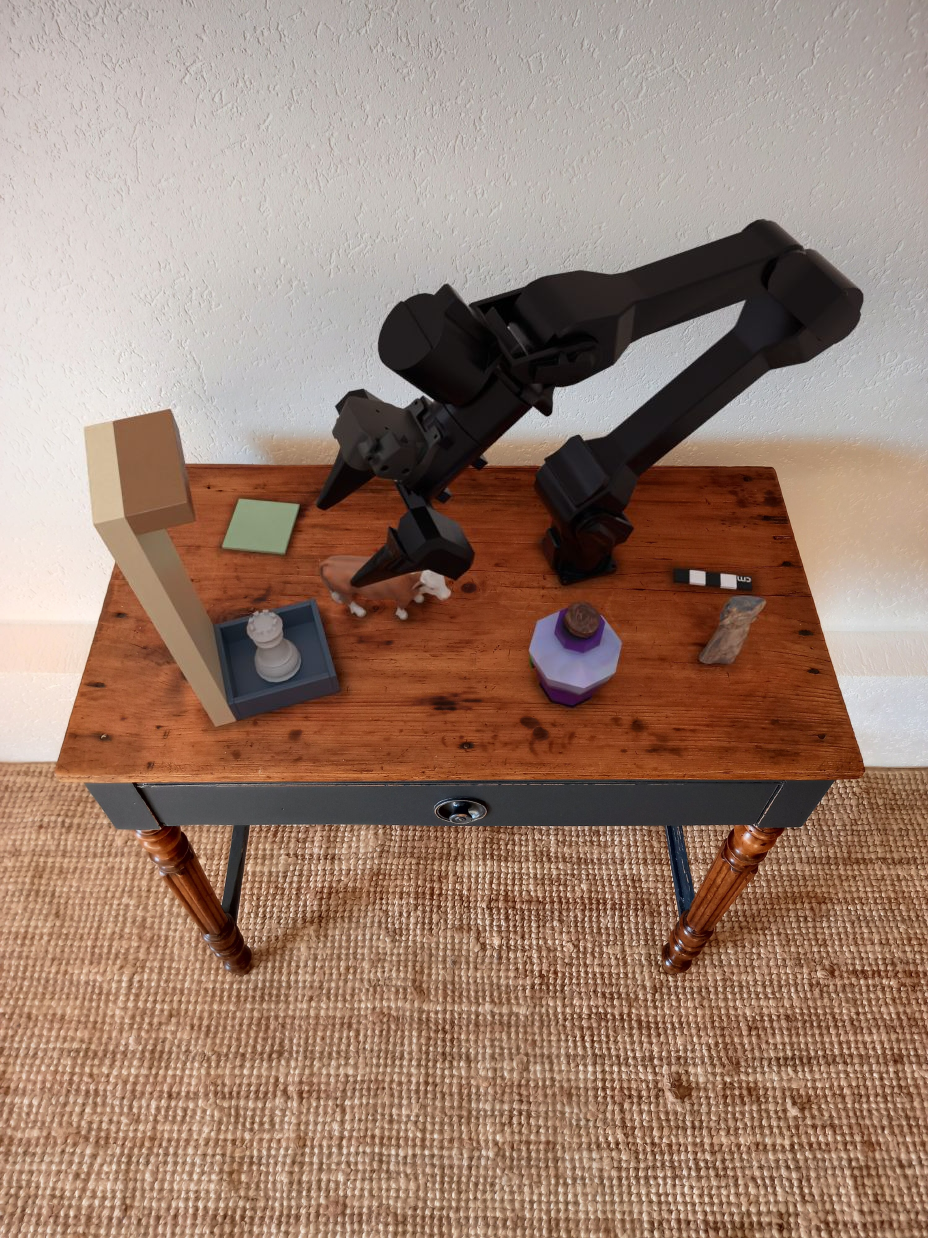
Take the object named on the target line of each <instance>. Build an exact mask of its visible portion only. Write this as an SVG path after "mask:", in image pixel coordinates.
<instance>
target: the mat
mask: <svg viewBox="0 0 928 1238" xmlns="http://www.w3.org/2000/svg"><path fill="white" fill-rule="evenodd" d="M300 505H301V504H300V503H290V502H289V503H288V502H279V501H270V500H269V501H268V500H259V499H247V498H238V501H237V504H236V507H235V508H234V512H233V515H232V518H231V520H230V523H229V526H228V527H227V528H228V529H227V531H226V534H225V537H224V539H223V543H222V545H221V548H222V549H223V550H232V551H241V552H243V551H244V552H251V553H260V554H261V553H262V554H273V555H282V556H285V555H286V553H287V550H288V547H289V543H290V539H291V538H292V537H291V536H292V533H293V530H294V527H295V523H296V520H297V517H298V515H299V510H300V507H301V506H300Z"/></svg>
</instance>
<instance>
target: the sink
mask: <svg viewBox="0 0 928 1238" xmlns="http://www.w3.org/2000/svg"><path fill="white" fill-rule="evenodd" d="M178 425H179V424H178V423H177V421H176V418H175V415H174V413H173V410H172V409H171V408H166V409H162V410H158V411H153V412H148V413H143V414H138V415H133V416H129V417H125V418H121V419H115V420H109V421H105V422H100V423H96V424H95V423H94V424H91V425H85V426H83V437H84V446H85V457H86V467H87V477H88V488H89V498H90V499H89V500H90V507H91V508H90V510H91V519H92V525H93V527H94V529H95V530H96V532H97V533H98V535H99V536H100V538H101V540H102V542H103V544H104V545H105V547H106V548H107V551H108V552H109V553H110V555H111V557H112V558H113V560H114V561H115V563H116V565H117V566H118V568H119V570H120V571H121V573H122V575H123V577H124V578H125V580H126V581H127V583H128V584H129V586H130V588H131V590H132V591H133V593H134V594H135V597H136V598H137V600H138V601H139V603H140V604H141V606H142V608H143V609H144V612H145V613H146V614H147V616H148V618H149V620H150V621H151V622H152V624H153V626H154V628H155V629H156V631H157V633H158V634H159V636H160V638H161V640H162V641H163V642H164V644H165V646H166V647H167V649H168V651H169V652H170V654H171V656H172V657H173V659H174V661H175V662H176V663H177V666H178V667H179V669H180V670H181V672H182V674H183V675H184V677H185V680H187V683H188V684H189V686H190V687H191V689H192V691H193V692H194V694H195V696H196V697H197V699H198V700H199V703H200V704H201V705H202V708H203V709H204V710H205V712H206V714H207V715H208V717H209V719H210V721H211V722H212V724H213V725H214V727H215V728H216V727H221V726H223V725H227V724H232V723H235V722H239V721H242V720H246V719H250V718H253V717H256V716H259V715H263V714H267V713H270V712H274V711H277V710H281V709H285V708H288V707H292V706H295V705H299V704H303V703H306V702H309V701H312V700H313V701H314V700H317V699H320V698H324V697H328V696H330V695H334V694H338V693H341V692H342V691H341V688H340V687H341V686H340V684H339V679H338V675H337V671H336V669H335V665H334V661H333V658H332V654H331V651H330V647H329V643H328V640H327V636H326V631H325V628H324V625H323V620H322V618H321V614H320V610H319V607H318V603H317V598H311V599H307V600H304V601H300V602H296V603H292V604H289V605H285V606H280V607H277V608H273V609H268V610H269V612H273V613H274V614H276V615H278V616H279V617H280V619H281V620H282V624H283V626H282V630H283V638H284V639H286V640H288V641H290V642H292V643H293V644H294V645H295V647H296V648H297V649H298V652H299V653H300V657H301V664H300V667H299V669H298V671H297V672H296V673H295V675H294V676H292V677H290V678H289V679H287V680H285V681H281V682H270V681H267V680H265V679H263V678H261V676H260V675H259V674H258V672H257V670H256V666H255V661H254V658H255V654H256V651H257V649H258V646H257V645H256V644H255V643H254V641H253V639H251V638H250V636H249V635H248V634H247V625H248V622H249V618H252V617H254V615H253V614H250V615H246V616H242V617H239V618H235V619H231V620H227V621H223V622H220V623H216V624H213V623H212V620H211V618H210V616H209V615H208V612H207V610H206V609H205V606H204V604H203V602H202V600H201V598H200V596H199V594H198V592H197V590H196V588H195V585H194V584H193V582H192V579H191V577H190V575H189V573H188V571H187V570H186V567H185V565H184V563H183V561H182V559H181V558H180V555H179V553H178V551H177V549H176V547H175V545H174V543H173V541H172V539H171V536H170V534H169V533H168V530H167V529H169V528H173V527H179V526H182V525H186V524H190V523H195V522H196V521H197V519H196V512H195V507H194V504H193V497H192V492H191V486H190V480H189V475H188V470H187V466H186V459H185V455H184V449H183V443H182V439H181V434H180V433H181V432H180V428H179V426H178ZM260 613H263V611H261V612H260Z"/></svg>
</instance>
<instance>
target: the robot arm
mask: <svg viewBox="0 0 928 1238" xmlns="http://www.w3.org/2000/svg"><path fill="white" fill-rule="evenodd" d="M864 299H865V297H864V293H863V291H862V290H861V288H859V286H858V285H856V284H855V283H854V282H853V281H852V280H851V279H850V278H848V277H847V276H846V275H845V274H844V273H842V272H841V271H840V270H839V269H838V268H837V267H836V266H835V265H834V264H832V263H831V262H830V261H829V260H828V259H827V258H826V257H824V256H823V255H822V254H821V253H820V252H818V251H817V249H813V248H804V246H803V245H802V244H801V243H800V242H799V241H798V240H796V238H794V237H793V236H792V235H791V234H790V233H788V231H787V230H785V229H784V228H783V227H782V226H781V225H780V224H779V223H777V222H776V221H775V220H770V219H765V218H760V219H756V220H754V221H751V222H749V224H747V225H746V226H745V227H744V228H743V229H742V230H741V231H738V232H737V233H734V234H730V235H728V236H725V237H722V238H719V239H716V240H713V241H710V242H707V243H705V244H701V245H699V246H696V247H693V248H690V249H687V250H683V251H682V252H678V253H675V254H672V255H671V256H670V255H669V256H667V257H664V258H661V259H658V260H655V261H653V262H652V261H651V262H650V263H647V264H644V265H641V266H638V267H635V268H632V269H629V270H626V271H623V272H622V271H621V272H616V273H605V272H598V271H591V270H584V269H577V270H572V271H565V272H560V273H559V272H558V273H553V274H547V275H544V276H540V277H538V278H536V279H534V280H532V281H530V282H528V284H526V285H524V286H522V287H518V288H515V289H512V290H507V291H505V292H502V293H499V294H495V295H492V296H489V297H485V298H482V299H478V300H476V301H472V302H470V303H468V304H467V303H466V302H465V300H464V299H463V298H462V296H461V295H460V293H459V291H457V290H456V289H455V288H454V287H453V286H452V285H451V284H449V283H443V285H442V286H441V287H440V288H439V289H438V290H437V291H436V292H435V293H434V294H433V293H429V292H422V293H417V294H414V295H412V296H409V297H408V298H406V299H405V300H404V301H403V300H400V301H399V302H397V303H396V304H395V305H394V306H393V308H392V309H391V310H390V311H389V313H388V314H387V315H386V317H385V319H384V321H383V322H382V325H381V328H380V330H379V334H378V339H377V353H378V357H379V360H380V362H381V363H382V364H383V365H384V366H385V367H386V368H387V369H389V370H391V371H392V372H393V373H394V374H396V375H397V376H399V377H400V378H402V379H403V380H404V381H406V382H407V383H409V384H410V385H411V386H413V387H414V388H416V389H417V390H418V391H420V392H421V393H423V395H421V396H420V397H417V398H415V399H414V400H413V401H411V402H410V404H408V405H407V406H405V407H403V408H402V407H399V406H396V405H394V404H392V403H390V402H385V401H383V400H382V399H381V398H379V397H378V396H376V395H374V394H372V393H371V392H369V390H367V389H365V388H359V389H353V390H349V391H347V392H346V393H345V395H344V396H342V398H341V399H340V400H339V401H338V402H337V403H336V404H335V405H334V407H335V410H336V411H337V414H338V417H337V418H336V420H335V424H334V426H333V428H332V430H331V435H332V437H333V439H334V440H336V441H337V443H338V445H339V449H338V452H337V455H336V458H335V460H334V463H333V464H332V468H331V470H330V472H329V474H328V476H327V478H326V481H325V483H324V485H323V487H322V489H321V491H320V493H319V496H318V498H317V500H316V503H315V506H316V508H317V509H319V510H321V511H327V510H329V509H331V508H332V507H334V506H337V505H338V504H339V503H341V502H342V501H344V500H345V499H347V498H348V497H349V496H351V495H352V494H353V493H355V492H356V491H358V490H359V489H360V488H362V487H363V486H365V485H366V484H367V483H369V482H370V481H371V480H373V479H374V478H375V477H376V478H378V479H381V480H382V479H383V480H390V481H392V482H393V484H394V486H395V488H396V490H397V492H398V494H399V497H400V498H401V500H402V502H403V504H404V506H405V508H406V510H407V511H406V512H405V513H404V514H403V515H402V516H401V517H400V518H399V520H398V525H397V528H394V527H392V526H390V525H389V526H388V527H387V531H386V542H385V543H384V545H383V546H381V547H380V548H379V549H378V550H377V551H376V552H375V553H374V554H373V555H371V556H372V557H371V558H370V559H369V560H368V561H367V562H366V563H365V564H364V565H363V566H362V567H361V568H360V569H359V570H358V571H357V572H356V574H355V575H354V576H353V577H352V579H351V580H350V585H351V586H353V587H356V588H361V587H364V586H368V585H371V584H374V583H378V582H381V581H384V580H388V579H391V578H394V577H398V576H401V575H405V574H410V573H415V572H420V571H426V570H430V571H432V572H434V573H437V574H439V575H443V576H444V578H445V577H446V578H447V579H450V580H452V581H454V582H457V581H458V580H459V579H460V578H461V577H462V576H463V575H465V574H466V573H467V572H468V571H469V570H470V569H471V568H472V567H473V565H474V561H475V556H476V552H475V550H474V549H473V547H472V545H471V543H470V541H469V540H468V538H467V536H466V534H465V532H464V531H463V530H464V529H463V528H462V527H461V524H460V523H459V522H457V521H456V520H453V519H452V518H450V517H448V516H446V515H444V514H442V513H440V512H439V511H436V509H435V508H434V505H433V504H432V501H433V500H436V501H437V502H440V503H442V504H443V505H444V504H446V503H447V502H448V501H449V500H450V499H451V498H452V497H453V494H452V492H451V491H450V489H449V486H450V485H451V484H453V482H454V481H456V480H457V479H458V478H459V477H460V476H461V475H462V474H463V473H464V472H465V471H466V470H468V468H469V467H473V468H474V469H475V470H477V471H479V472H480V471H481V470H483V469H484V468H485V467H486V466H487V465H488V464H489V461H488V460H487V458H486V457H485V455H484V454H485V453H486V452H487V451H488V450H489V449H490V448H491V447H492V446H493V445H494V444H495V443H497V441H499V440H500V439H501V438H502V436H504V435H505V434H506V433H507V432H508V431H510V429H511V428H512V427H514V425H515V424H517V423H518V422H519V421H520V420H521V419H522V418H523V417H524V416H525V415H526V414H527V413H529V412H530V410H532V409H533V408H534V409H535V410H537V412H539V413H540V414H542V415H543V416H544V417H546V418H548V417H550V416H551V415H553V412H554V392H555V389H556V388H567V387H571V386H575V385H578V384H579V383H581V382H583V381H585V380H587V379H590V378H591V377H593V376H595V375H598V374H599V373H602V372H603V371H605V370H607V369H609V368H611V367H613V366H614V365H615V364H617V362H618V361H619V359H620V358H621V357H622V355H623V354H624V353H625V351H626V350H627V349H628V348H629V346H630V345H631V344H632V343H633V344H634V343H635V342H637V341H638V340H640V339H643V338H645V337H648V336H650V335H653V334H656V333H658V332H661V331H664V330H667V329H669V328H672V327H675V326H677V325H680V324H683V323H686V322H689V321H691V320H695V319H697V318H700V317H703V316H705V315H708V314H710V313H714V312H717V311H720V310H722V309H725V308H728V307H730V306H734V305H736V304H739V303H741V302H744V303H743V304H742V307H741V310H740V312H739V314H738V317H737V320H736V322H735V324H734V326H733V327H732V328H731V329H729V331H728V332H726V333H725V334H724V335H723V336H722V337H721V338H719V339H717V341H716V342H715V343H713V344H712V345H711V346H709V347H708V349H706V350H704V352H703V353H702V354H701V355H699V356H698V357H697V358H696V359H694V360H693V361H692V362H691V363H690V364H689V365H687V366H686V367H685V368H684V369H682V371H681V372H680V373H678V374H677V375H676V376H675V377H673V378H672V379H671V380H670V381H669V382H668V383H666V384H665V385H664V386H663V387H662V388H660V390H658V391H657V392H656V393H655V394H653V395H652V396H651V397H650V398H649V399H647V400H646V401H645V402H644V403H643V404H642V405H640V406H639V407H638V408H637V409H636V410H634V412H632V413H631V414H630V415H629V416H628V417H627V418H626V419H624V420H623V421H622V422H621V423H619V424H618V425H617V426H616V427H615V428H613V429H612V430H611V431H610V432H609V433H607V434H605V435H604V436H600V437H594V438H589V439H583V437H582V435H581V434H575V435H573V436H571V437H569V438H568V439H567V440H566V441H565V442H564V443H563V444H562V445H561V446H560V447H559V448H558V449H557V450H556V451H554V452H553V453H552V454H550V455H548V456H546V457H544V459H543V461H544V463H543V464H542V465H541V466H540V467H539V469H538V470H536V473H535V474H534V478H535V480H534V483H533V489H534V493H535V494H536V495H537V496H536V497H538V499H539V501H540V502H541V504H542V505H543V507H544V508H545V510H546V511H547V514H548V515H549V516H550V518H551V522H550V526H549V527H547V529H546V531H545V536H544V537H542V539H541V546H542V548H543V555H544V557H545V559H546V561H547V564H548V565H549V568H550V569H551V570H552V571H554V572H555V575H556V577H557V579H558V581H559V584H561V585H562V586H569V585H573V584H577V583H581V582H584V581H588V580H592V579H595V578H599V577H603V576H606V575H610V574H613V573H616V572H617V571H618V564H617V562H616V560H615V558H614V556H613V552H614V549H615V548H616V547H617V546H619V545H621V544H624V543H626V542H627V541H628V539H629V537H631V534H632V533H633V532H634V531H635V527H634V525H633V523H631V521H630V520H629V518H628V517H627V515H626V514H625V510H626V509H627V507H628V506H629V504H630V501H631V498H632V496H633V493H634V491H635V489H636V486H637V483H638V481H639V478H640V477H641V476H642V475H643V474H644V473H645V472H646V471H648V470H649V469H650V468H651V467H653V466H655V464H656V463H658V462H659V461H660V460H661V459H663V458H664V457H665V456H666V455H667V454H669V453H670V452H671V451H672V450H673V449H674V448H676V447H677V446H678V445H680V444H681V443H682V442H683V441H685V440H686V439H687V438H688V437H689V436H690V435H692V434H694V433H695V432H696V431H697V430H698V429H699V428H701V427H702V426H703V425H705V424H706V422H708V421H709V420H710V419H711V418H713V417H715V415H717V414H718V413H719V412H720V411H722V410H723V409H724V408H725V407H726V406H728V405H729V404H730V403H732V401H734V400H735V399H736V398H737V397H738V396H740V395H741V394H743V393H744V392H745V391H746V390H747V389H749V388H750V387H751V386H752V385H753V384H755V383H756V382H757V381H758V380H759V379H761V378H762V377H763V376H764V375H766V374H767V373H768V372H770V371H774V370H778V369H783V368H787V367H791V366H797V365H801V364H805V363H809V362H810V361H812V360H813V359H815V358H816V357H818V356H819V355H821V354H822V353H824V352H825V351H826V350H828V349H830V348H831V347H832V346H834V345H836V344H838V343H840V342H842V341H844V340H845V339H846V338H847V337H849V336H850V335H851V333H852V332H853V331H854V330H855V329H856V328H857V326H858V324H859V322H860V321H861V318H862V317H861V316H862V313H861V310H862V307H863V305H864V301H865V300H864ZM425 395H426V396H427V397H426V396H425Z"/></svg>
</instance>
